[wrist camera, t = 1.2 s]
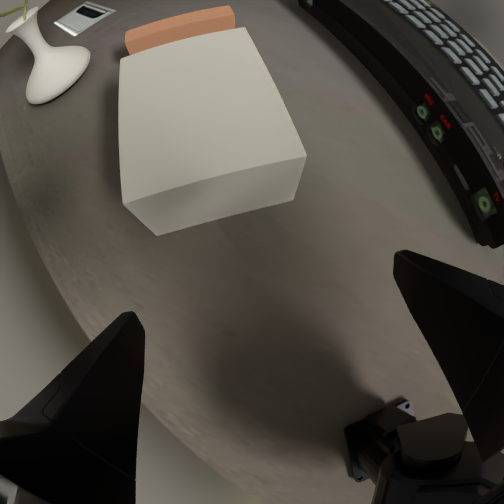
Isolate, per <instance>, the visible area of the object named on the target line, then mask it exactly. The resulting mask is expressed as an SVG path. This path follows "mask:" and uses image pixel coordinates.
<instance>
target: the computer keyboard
mask: <svg viewBox="0 0 504 504" xmlns="http://www.w3.org/2000/svg"><path fill="white" fill-rule="evenodd" d="M298 2H299V5H300V6H301V7H302V8H304V9H305V10H306V11H307V12H308V13H310V14H311V15H312V16H313V17H314V18H316V19H317V20H318V21H319V22H320V23H321V24H322V25H324V26H325V27H326V28H327V29H328V30H329V31H330V32H331V33H332V34H333V35H334V36H336V37H337V38H338V39H339V40H340V41H341V42H342V43H343V44H344V45H345V46H346V47H347V48H348V49H349V50H350V51H351V52H352V53H353V54H354V55H355V56H356V57H357V58H358V59H359V60H360V62H361V63H362V64H363V65H364V66H365V67H366V68H367V69H368V70H369V71H370V72H371V74H372V75H373V76H374V77H375V78H376V79H377V80H378V82H379V83H380V84H381V85H382V86H383V88H384V89H385V90H386V91H387V92H388V94H389V95H390V96H391V97H392V99H393V100H394V101H395V102H396V104H397V105H398V106H399V108H400V109H401V110H402V111H403V113H404V114H405V116H406V117H407V118H408V120H409V121H410V122H411V124H412V125H413V127H414V128H415V129H416V131H417V132H418V134H419V135H420V137H421V138H422V140H423V141H424V143H425V144H426V146H427V147H428V149H429V150H430V152H431V154H432V155H433V157H434V158H435V160H436V162H437V163H438V165H439V167H440V168H441V170H442V172H443V173H444V175H445V177H446V179H447V181H448V182H449V184H450V186H451V188H452V190H453V191H454V193H455V195H456V197H457V199H458V201H459V203H460V205H461V207H462V209H463V211H464V213H465V215H466V217H467V219H468V222H469V224H470V226H471V228H472V230H473V233H474V235H475V237H476V240H477V242H478V243H479V244H480V245H481V246H486V245H489V247H491V248H493V249H494V248H497V247H499V246H501V245H503V244H504V71H503V70H502V69H501V68H500V67H499V65H498V64H497V63H496V62H495V61H494V60H493V59H492V57H491V56H490V55H489V54H488V53H487V52H486V51H485V50H484V49H483V48H482V47H481V46H480V45H479V44H478V43H477V42H476V41H475V40H474V39H473V38H472V37H471V36H470V35H469V34H468V33H467V32H466V31H465V30H464V29H463V28H462V27H461V26H459V25H458V24H457V23H456V22H455V21H454V20H453V19H451V18H450V17H449V16H448V15H447V14H446V13H444V12H443V11H442V10H441V9H440V8H438V7H437V6H436V5H434V4H433V3H432V2H431V1H429V0H298Z"/></svg>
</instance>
